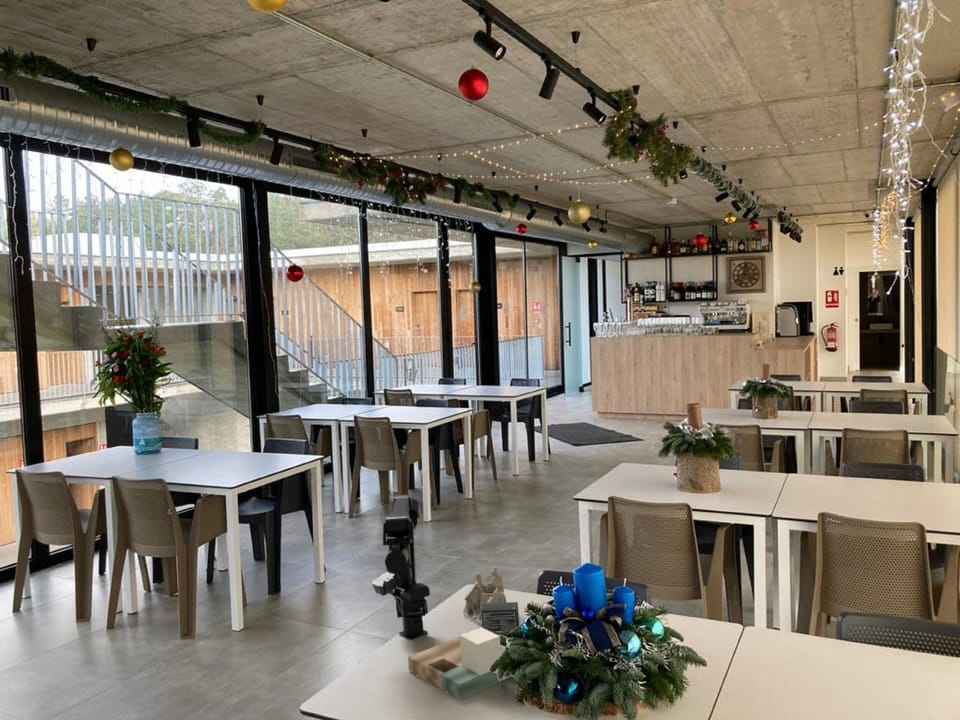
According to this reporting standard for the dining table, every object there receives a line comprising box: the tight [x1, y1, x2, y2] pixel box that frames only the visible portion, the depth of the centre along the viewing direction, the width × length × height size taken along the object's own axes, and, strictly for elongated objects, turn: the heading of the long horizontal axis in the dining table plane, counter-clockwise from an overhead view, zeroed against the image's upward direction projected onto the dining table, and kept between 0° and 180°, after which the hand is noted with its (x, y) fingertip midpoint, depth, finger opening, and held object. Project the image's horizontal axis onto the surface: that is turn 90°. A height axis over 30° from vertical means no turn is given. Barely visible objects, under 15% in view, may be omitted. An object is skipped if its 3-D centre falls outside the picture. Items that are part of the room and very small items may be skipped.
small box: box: [481, 601, 520, 646], centre depth 221 cm, size 11×6×10 cm, turn 84°
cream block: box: [459, 626, 501, 675], centre depth 197 cm, size 8×7×8 cm
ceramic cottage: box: [462, 566, 508, 627], centre depth 240 cm, size 16×16×15 cm
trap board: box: [407, 636, 507, 701], centre depth 203 cm, size 23×22×4 cm
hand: (404, 616), depth 211 cm, fingers closed
